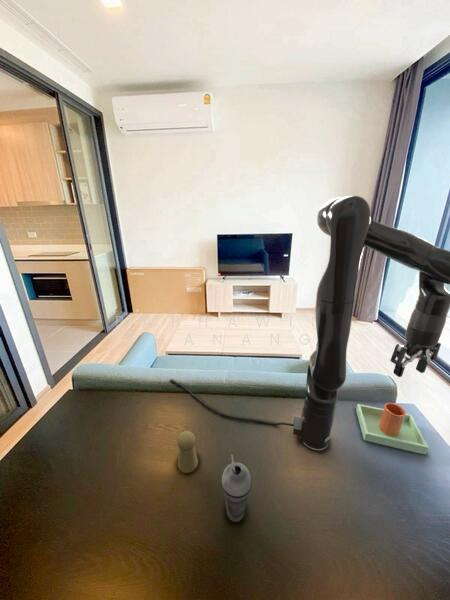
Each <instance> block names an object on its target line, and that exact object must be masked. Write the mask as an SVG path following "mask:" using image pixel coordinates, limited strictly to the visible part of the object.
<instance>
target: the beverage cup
mask: <svg viewBox="0 0 450 600" xmlns="http://www.w3.org/2000/svg"><path fill="white" fill-rule="evenodd" d="M230 459H231V463H229V464H228V465H227V466H226V467H225V469H224V470H223V473H222V476H221V480H220V481H221V482H220V483H221V487H222V491H223V495H224V503H225V510H226V514H227V515H226V516H227V517H228V519H229V520H231V521H232V522H236V523H237V522H240V521H241V520H242V519H243V518H244V517H245V516H244V515H245V512H246V508H247V502H248V497H249V493H250V491H251V488H252V478H251V477H252V476H251V474H250V471H249V469H248V468H247V467H246V466H245V465H244V464H243V463H241V462H237V461H236V462H235V459H234V454H233V453H231V454H230Z"/></svg>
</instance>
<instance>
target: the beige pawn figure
mask: <svg viewBox="0 0 450 600" xmlns="http://www.w3.org/2000/svg"><path fill="white" fill-rule="evenodd" d="M176 442H177V443H176V444H177V447H178V449H179V450H178V457H177V467H178V469H179V471H180V472H181V473H184V474H189V473H192V472H194V471H195V470H196V468H197V467H198V464H199V459H198V456H197V451H196V447H195V445H196V436H195V435H194V433H193V432H191V431H189V430H185V431H182V432H181V433H180V434H179V435H178V437H177V440H176Z"/></svg>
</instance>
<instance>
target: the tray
mask: <svg viewBox="0 0 450 600" xmlns="http://www.w3.org/2000/svg"><path fill="white" fill-rule="evenodd" d="M383 409H384V408H379V407H374V406H371V405H366V404H361V403H357V406H356V409H355V412H356V416H357V419H358V423H359V426H360V431H361V434H362V438H363V441H364V442H365V441H366V442H369V443H370V442H371V443H373V444H377V445H383V446H386V447H390V448H391V447H392V448H395V449H400V450H403V451H408V452H412V453H417V454H421V455H427V453H428V450H429V446H428V444H427V442H426V440H425V438H424V436H423V435H422V433H421V431H420V428H419V426H418V425H417V423H416V421H415V419H414V417H413V415H412V414H411V413H406V415H405V418H404V421H403V423H402V426H401V429H400V432H399V434H398V436H396V437H392V436H389V435H386V434H385V433H383V432H382V431H381V430H380V428H379V423H380V419H381V416H382V413H383Z"/></svg>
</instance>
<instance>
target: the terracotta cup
mask: <svg viewBox="0 0 450 600" xmlns="http://www.w3.org/2000/svg"><path fill="white" fill-rule="evenodd" d="M382 409H383V413H382V416H381V419H380V423H379V428H380V430H381V431H382V432H383V433H385V434H386V435H389V436H392V437H396V436H398V434H399V432H400V429H401V426H402V423H403V421H404V418H405V415H406V414H407V413H406V410H405V409H404V408H403V407H402V406H400V405H399V404H397V403H393V402H386V403H385V404H384V406H383V408H382Z"/></svg>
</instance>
